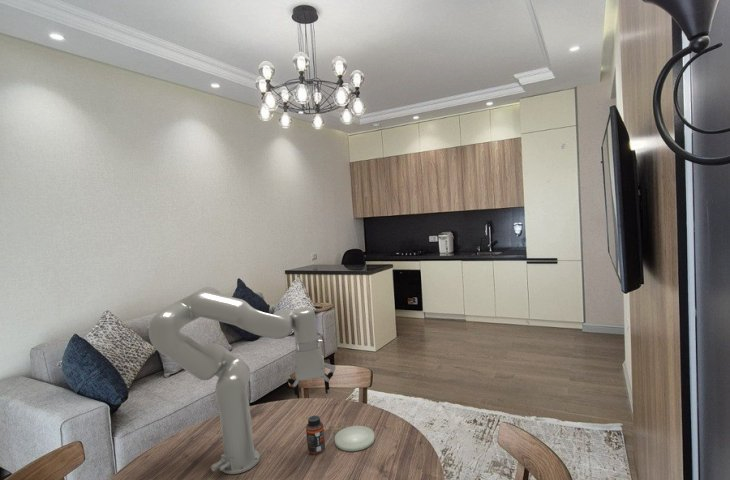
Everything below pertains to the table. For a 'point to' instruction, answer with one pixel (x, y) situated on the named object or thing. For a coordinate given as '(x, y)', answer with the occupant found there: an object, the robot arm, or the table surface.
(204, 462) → the table surface
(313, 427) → the supplement bottle
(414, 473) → the table surface
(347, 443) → the dish
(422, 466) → the table surface
